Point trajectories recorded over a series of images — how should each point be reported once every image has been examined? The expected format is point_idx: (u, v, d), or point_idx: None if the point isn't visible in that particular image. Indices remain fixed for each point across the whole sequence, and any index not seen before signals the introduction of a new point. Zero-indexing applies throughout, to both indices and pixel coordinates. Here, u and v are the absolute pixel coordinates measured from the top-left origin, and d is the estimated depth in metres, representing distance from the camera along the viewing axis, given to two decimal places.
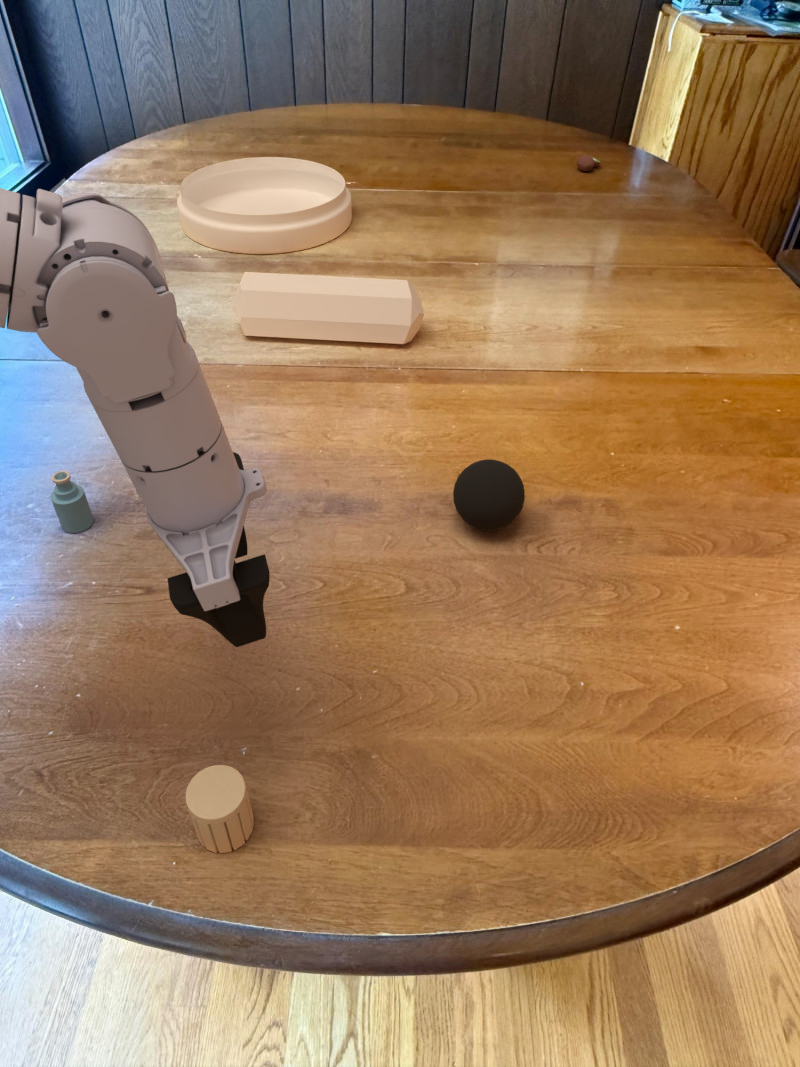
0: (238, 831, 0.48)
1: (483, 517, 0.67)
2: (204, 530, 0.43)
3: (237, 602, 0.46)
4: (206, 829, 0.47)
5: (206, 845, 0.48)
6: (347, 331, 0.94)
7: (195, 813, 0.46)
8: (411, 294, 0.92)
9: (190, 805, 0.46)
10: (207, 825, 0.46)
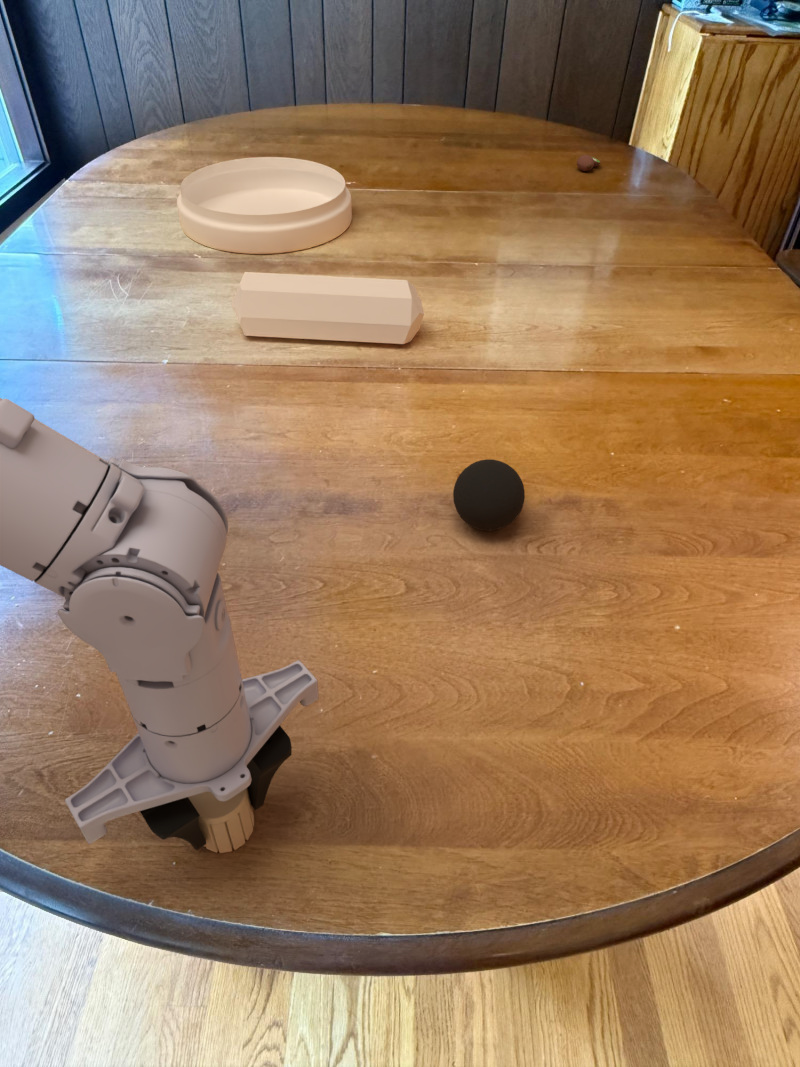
0: (238, 831, 0.48)
1: (483, 517, 0.67)
2: (148, 768, 0.41)
3: None
4: (206, 829, 0.47)
5: (206, 845, 0.48)
6: (347, 331, 0.94)
7: None
8: (411, 294, 0.92)
9: None
10: (207, 825, 0.46)
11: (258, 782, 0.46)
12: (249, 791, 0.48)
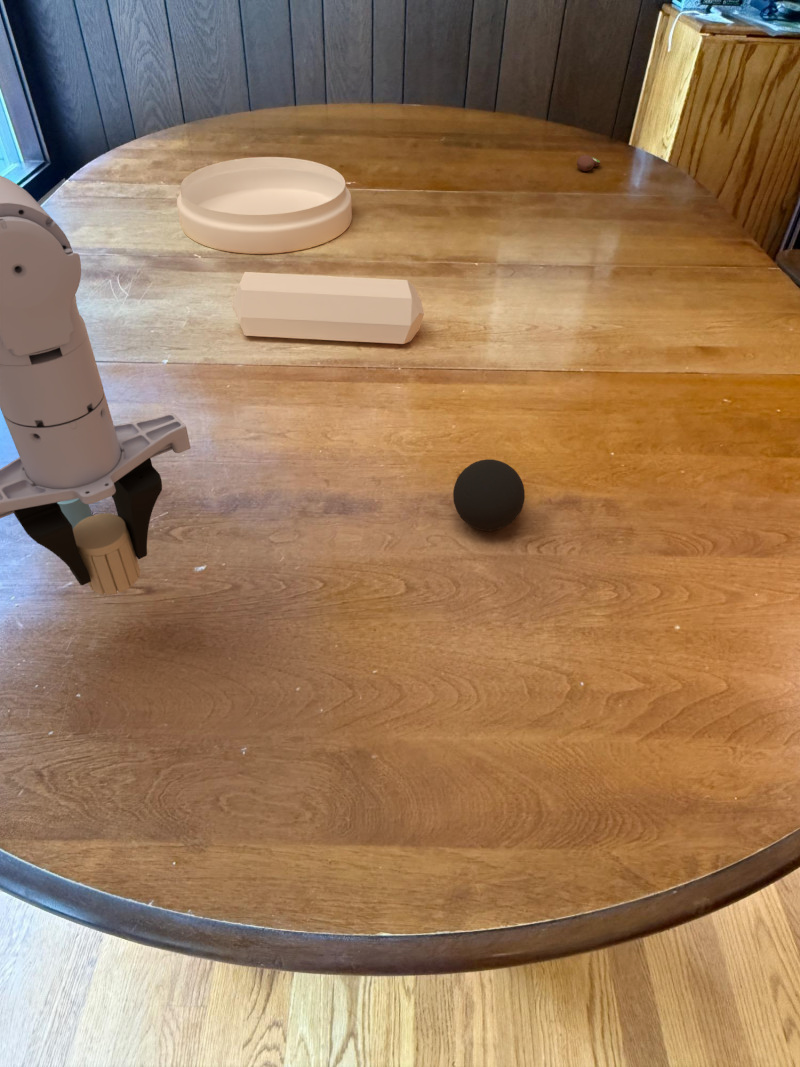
0: (120, 570, 0.53)
1: (482, 517, 0.67)
2: (24, 479, 0.47)
3: None
4: (89, 563, 0.52)
5: (93, 586, 0.54)
6: (347, 331, 0.94)
7: (78, 545, 0.52)
8: (411, 294, 0.92)
9: None
10: (89, 557, 0.52)
11: (133, 518, 0.52)
12: (131, 538, 0.54)
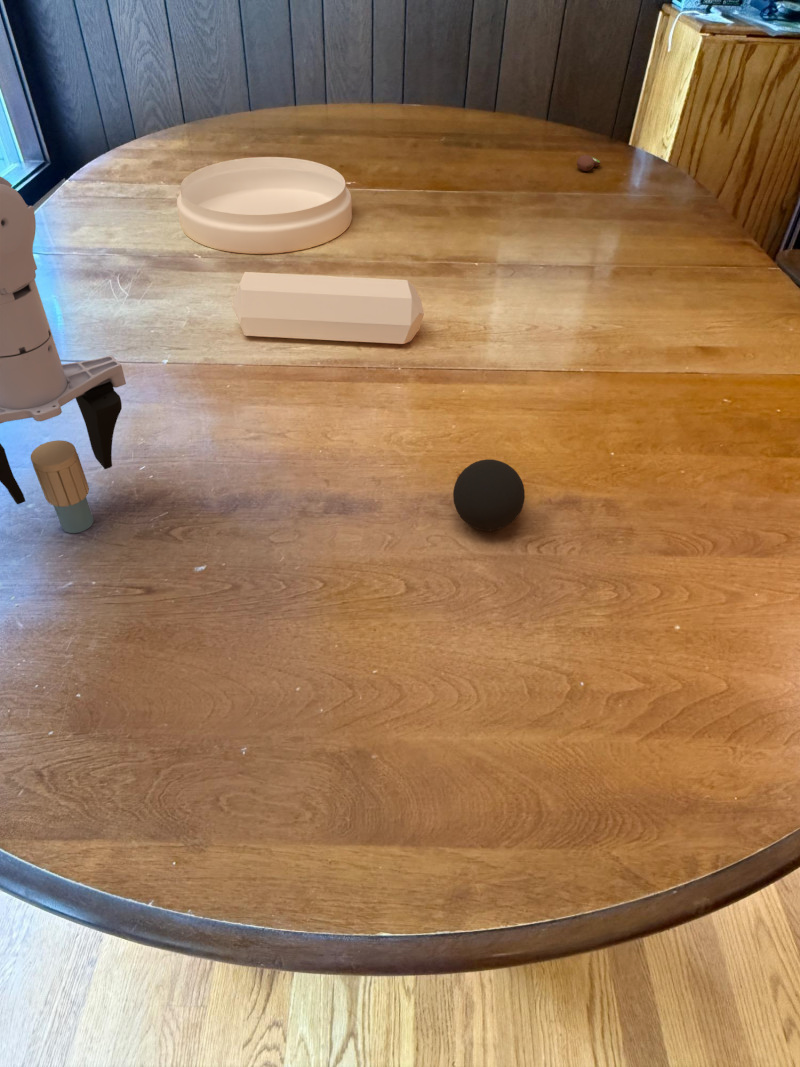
0: (71, 486, 0.66)
1: (483, 517, 0.67)
2: None
3: None
4: (45, 478, 0.65)
5: (49, 499, 0.67)
6: (347, 331, 0.94)
7: (35, 463, 0.64)
8: (411, 294, 0.92)
9: (33, 459, 0.65)
10: (44, 473, 0.64)
11: (99, 431, 0.65)
12: (99, 451, 0.67)
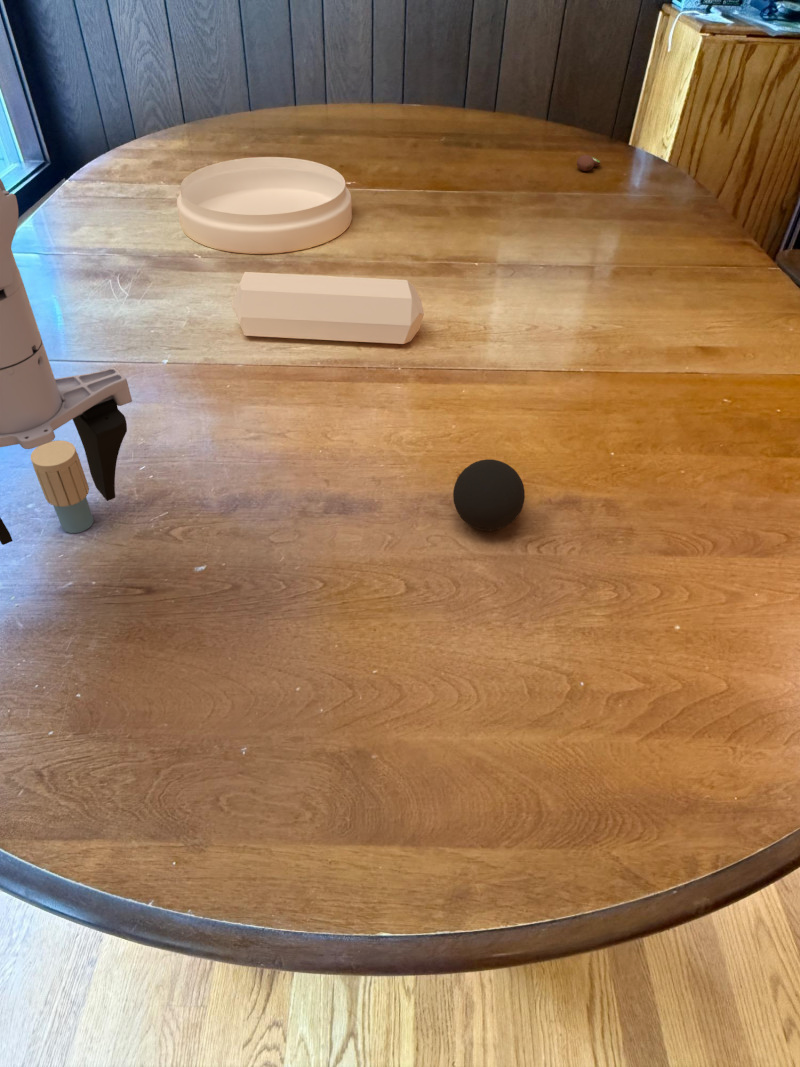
0: (71, 486, 0.66)
1: (483, 517, 0.67)
2: None
3: None
4: (45, 478, 0.65)
5: (49, 499, 0.67)
6: (347, 331, 0.94)
7: (35, 463, 0.64)
8: (411, 294, 0.92)
9: (33, 459, 0.65)
10: (44, 473, 0.64)
11: (100, 458, 0.55)
12: (99, 479, 0.57)
